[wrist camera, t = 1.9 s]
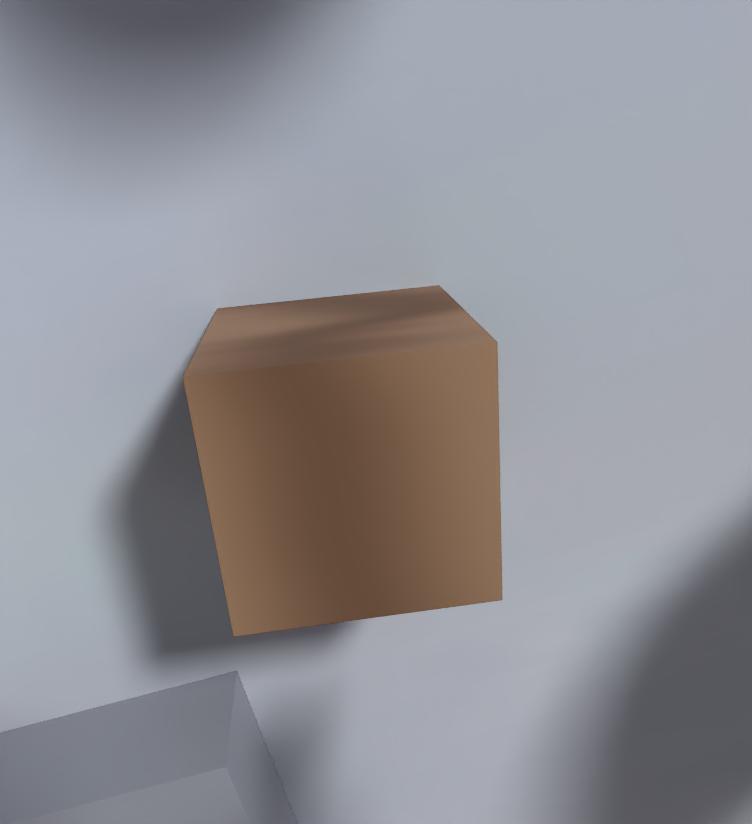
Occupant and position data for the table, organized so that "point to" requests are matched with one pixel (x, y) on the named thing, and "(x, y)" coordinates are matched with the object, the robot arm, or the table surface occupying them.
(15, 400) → the table surface
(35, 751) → the slate block
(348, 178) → the table surface
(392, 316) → the walnut cube
